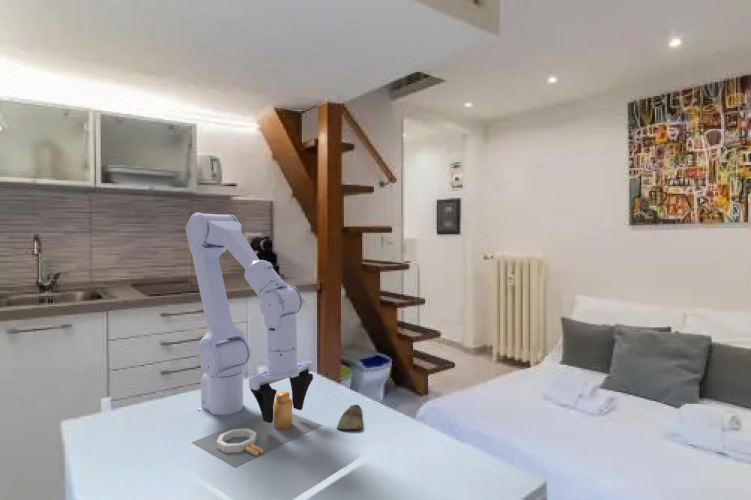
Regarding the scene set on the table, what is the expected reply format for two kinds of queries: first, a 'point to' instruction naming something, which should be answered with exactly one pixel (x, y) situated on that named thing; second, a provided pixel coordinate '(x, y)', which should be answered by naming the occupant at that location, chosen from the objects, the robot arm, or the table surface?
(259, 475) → the table surface
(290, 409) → the stepped orange capsule
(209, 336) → the robot arm
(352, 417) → the stone
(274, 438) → the mat
